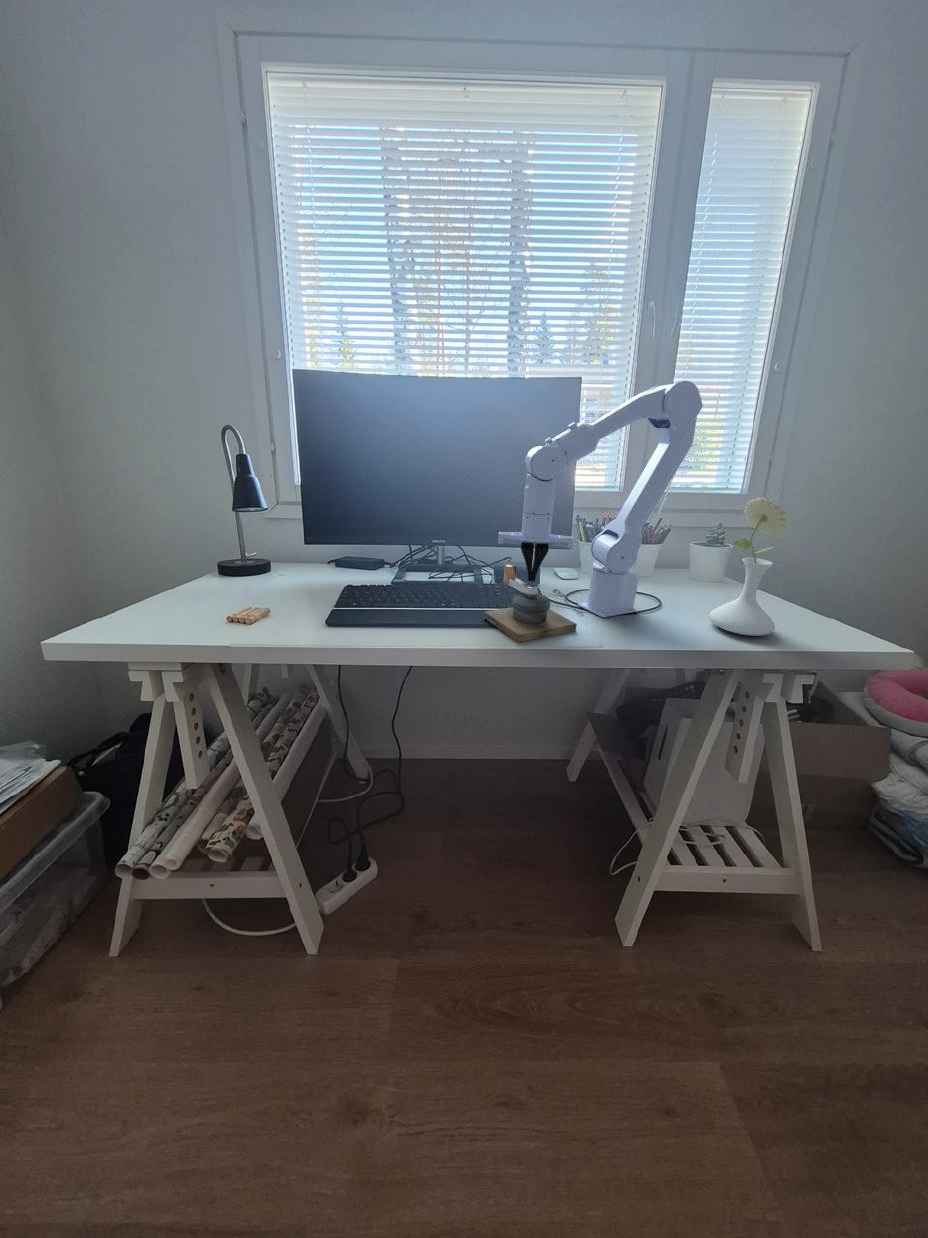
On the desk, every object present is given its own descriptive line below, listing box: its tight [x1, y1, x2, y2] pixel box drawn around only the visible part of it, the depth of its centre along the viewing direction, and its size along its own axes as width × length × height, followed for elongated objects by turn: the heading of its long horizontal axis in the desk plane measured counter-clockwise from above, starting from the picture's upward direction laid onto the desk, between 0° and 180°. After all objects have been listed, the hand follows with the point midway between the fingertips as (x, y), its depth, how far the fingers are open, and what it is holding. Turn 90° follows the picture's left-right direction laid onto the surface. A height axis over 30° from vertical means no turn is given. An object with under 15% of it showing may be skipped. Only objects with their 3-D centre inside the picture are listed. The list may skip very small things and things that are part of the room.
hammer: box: [503, 563, 539, 599], centre depth 91 cm, size 10×2×4 cm, turn 26°
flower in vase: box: [708, 496, 788, 637], centre depth 88 cm, size 13×11×25 cm
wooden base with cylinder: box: [483, 592, 578, 643], centre depth 89 cm, size 13×12×6 cm
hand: (531, 580), depth 95 cm, fingers closed
